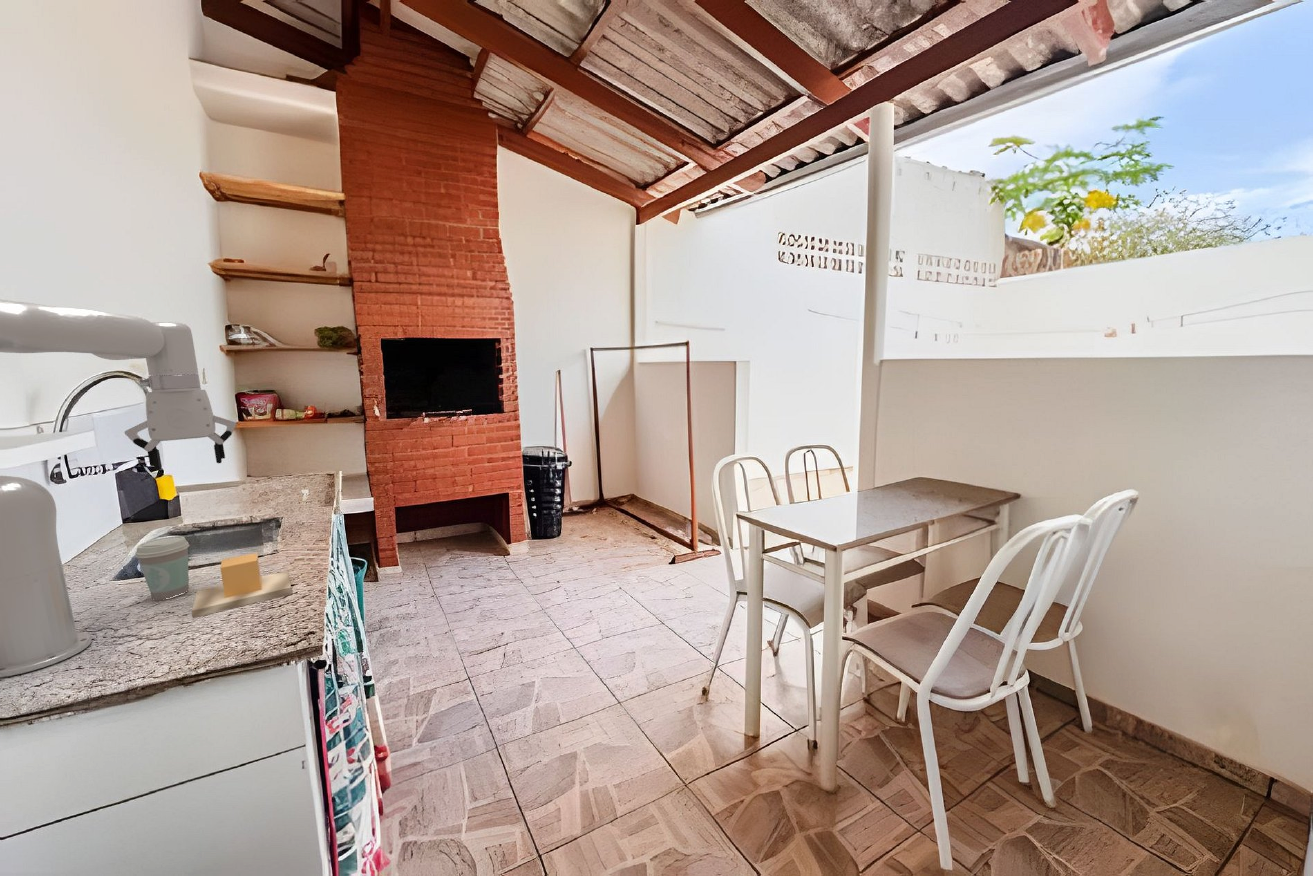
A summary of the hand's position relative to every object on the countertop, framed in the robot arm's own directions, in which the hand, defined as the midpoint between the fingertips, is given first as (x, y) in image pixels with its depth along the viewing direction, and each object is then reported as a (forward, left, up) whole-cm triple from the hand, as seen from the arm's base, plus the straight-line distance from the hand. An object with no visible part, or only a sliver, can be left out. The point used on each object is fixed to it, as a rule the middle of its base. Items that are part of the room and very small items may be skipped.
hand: (189, 465), depth 110 cm
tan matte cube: (+6, -7, -27) cm, 28 cm away
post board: (+6, -7, -28) cm, 30 cm away
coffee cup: (-7, +5, -28) cm, 30 cm away
